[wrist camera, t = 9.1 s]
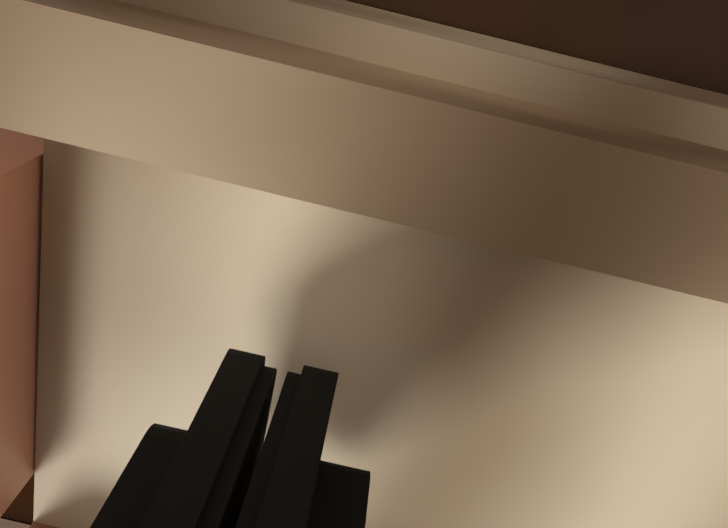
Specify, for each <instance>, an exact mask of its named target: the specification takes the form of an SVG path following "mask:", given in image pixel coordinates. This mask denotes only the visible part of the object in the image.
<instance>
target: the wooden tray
mask: <svg viewBox="0 0 728 528" xmlns="http://www.w3.org/2000/svg"><path fill="white" fill-rule="evenodd" d="M0 128H4V129H8V130H12V131H16V132H20V133H24V134H28V135H33V136H37V137H41V138H44V156H43V192H42V228H41V263H40V299H39V334H38V370H37V405H36V441H35V476H34V512H33V523H32V524H31V526H30V527H29V528H90V527H91V525H92V523H93V522H94V520H95V518H96V516H97V515H98V513H99V511H100V510H101V508H102V506H103V505H104V503H105V501H106V499H107V498H108V496H109V494H110V493H111V491H112V489H113V488H114V486H115V484H116V482H117V481H118V479H119V477H120V476H121V474H122V472H123V470H124V469H125V467H126V465H127V464H128V462H129V460H130V459H131V457H132V455H133V453H134V452H135V450H136V448H137V447H138V445H139V443H140V442H141V440H142V438H143V436H144V435H145V433H146V432H147V430H148V429H149V427H150V426H151V425H153V424H154V423H156V424H161V425H165V426H170V427H174V428H179V429H183V430H188V429H189V427H190V425H191V423H192V421H193V419H194V417H195V415H196V413H197V411H198V409H199V407H200V405H201V403H202V401H203V399H204V397H205V395H206V393H207V391H208V389H209V387H210V385H211V383H212V381H213V379H214V377H215V375H216V373H217V371H218V369H219V367H220V365H221V363H222V361H223V359H224V357H225V355H226V353H227V351H228V350H229V349H230V348H231V349H236V350H240V351H245V352H249V353H253V354H258V355H262V356H265V358H266V359H265V366H267V367H271V368H276V369H277V374H276V380H275V385H274V390H273V396H272V401H271V406H270V412H269V417H268V422H267V428H266V433H265V437H266V434H267V431H268V428H269V425H270V422H271V419H272V416H273V413H274V410H275V407H276V404H277V402H278V399H279V396H280V393H281V390H282V387H283V384H284V381H285V378H286V375H287V372H288V371H289V372H294V373H298V374H301V373H302V369H303V366H304V365H307V366H311V367H316V368H320V369H324V370H329V371H333V372H338V373H339V375H338V380H337V384H336V389H335V394H334V398H333V403H332V408H331V413H330V417H329V422H328V427H327V432H326V436H325V441H324V446H323V451H322V455H321V460H322V461H326V462H330V463H335V464H339V465H344V466H348V467H353V468H357V469H362V470H366V471H370V487H369V496H368V505H367V515H366V524H365V528H728V95H725V94H721V93H717V92H713V91H709V90H705V89H701V88H697V87H693V86H689V85H685V84H681V83H677V82H673V81H669V80H665V79H660V78H656V77H652V76H648V75H644V74H640V73H636V72H632V71H628V70H624V69H620V68H616V67H612V66H608V65H604V64H600V63H596V62H592V61H588V60H584V59H580V58H576V57H572V56H568V55H564V54H559V53H555V52H551V51H547V50H543V49H539V48H535V47H531V46H527V45H523V44H519V43H515V42H511V41H507V40H503V39H499V38H495V37H491V36H487V35H483V34H479V33H475V32H471V31H467V30H463V29H458V28H454V27H450V26H446V25H442V24H438V23H434V22H430V21H426V20H422V19H418V18H414V17H410V16H406V15H402V14H398V13H394V12H390V11H386V10H382V9H378V8H374V7H370V6H366V5H361V4H357V3H353V2H349V1H345V0H0ZM264 440H265V438H264Z"/></svg>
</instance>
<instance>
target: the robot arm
mask: <svg viewBox="0 0 728 528" xmlns="http://www.w3.org/2000/svg"><path fill="white" fill-rule="evenodd" d="M265 359H266V358H265V356H262V355H258V354H253V353H249V352H245V351H240V350H236V349H231V348H230V349H229V350H228V351H227V353H226V355H225V357H224V359H223V361H222V363H221V365H220V367H219V369H218V371H217V373H216V375H215V377H214V379H213V381H212V383H211V385H210V387H209V389H208V391H207V393H206V395H205V397H204V399H203V401H202V403H201V405H200V407H199V409H198V411H197V413H196V415H195V417H194V419H193V421H192V423H191V425H190V427H189V429H188V430H183V429H179V428H174V427H170V426H165V425H161V424H156V423H154V424H153V425H151V426H150V427H149V429H148V430H147V432H146V433H145V435H144V436H143V438H142V440H141V442H140V443H139V445H138V447H137V448H136V450H135V452H134V453H133V455H132V457H131V459H130V460H129V462H128V464H127V465H126V467H125V469H124V470H123V472H122V474H121V476H120V477H119V479H118V481H117V482H116V484H115V486H114V488H113V489H112V491H111V493H110V494H109V496H108V498H107V499H106V501H105V503H104V505H103V506H102V508H101V510H100V511H99V513H98V515H97V516H96V518H95V520H94V522H93V523H92V525H91V527H90V528H365V524H366V515H367V505H368V496H369V487H370V471H366V470H362V469H357V468H353V467H348V466H344V465H339V464H335V463H330V462H326V461H322V460H321V455H322V451H323V446H324V441H325V436H326V432H327V427H328V422H329V417H330V413H331V408H332V403H333V398H334V394H335V389H336V384H337V380H338V375H339V373H338V372H333V371H329V370H324V369H320V368H316V367H311V366H307V365H304V366H303V369H302V373H301V374H298V373H294V372H289V371H288V372H287V375H286V378H285V381H284V384H283V387H282V390H281V393H280V396H279V399H278V402H277V404H276V407H275V410H274V413H273V416H272V419H271V422H270V425H269V428H268V431H267V434H266V437H265V433H266V428H267V422H268V417H269V412H270V406H271V401H272V396H273V390H274V385H275V380H276V374H277V369H276V368H271V367H267V366H265ZM264 438H265V440H264Z"/></svg>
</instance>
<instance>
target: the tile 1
mask: <svg viewBox="0 0 728 528" xmlns="http://www.w3.org/2000/svg"><path fill="white" fill-rule="evenodd" d="M43 156H44V138H41V137H37V136H33V135H28V134H24V133H20V132H16V131H12V130H8V129H4V128H0V518H1V516H2V515H3V514H4V512H5V511H6V510H7V508H8V507H9V506H10V504H11V503H12V502H13V500H14V499H15V498H16V497H17V495H18V494H19V493H20V491H21V490H22V489H23V487H24V486H25V485H26V483H27V482H28V481H29V479H30V478H31V477H32V475H33V474H34V473H35V441H36V405H37V370H38V334H39V299H40V263H41V228H42V192H43Z"/></svg>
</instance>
